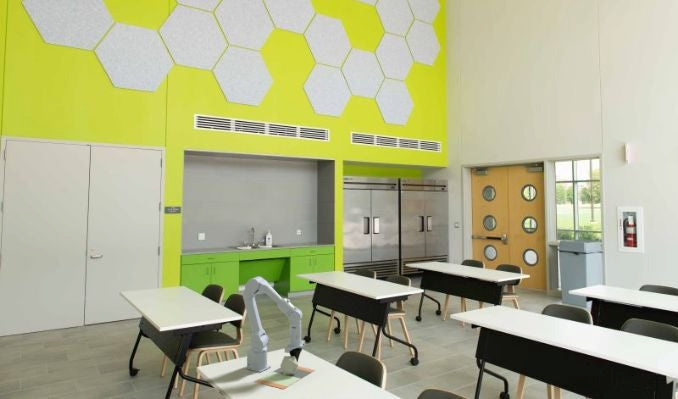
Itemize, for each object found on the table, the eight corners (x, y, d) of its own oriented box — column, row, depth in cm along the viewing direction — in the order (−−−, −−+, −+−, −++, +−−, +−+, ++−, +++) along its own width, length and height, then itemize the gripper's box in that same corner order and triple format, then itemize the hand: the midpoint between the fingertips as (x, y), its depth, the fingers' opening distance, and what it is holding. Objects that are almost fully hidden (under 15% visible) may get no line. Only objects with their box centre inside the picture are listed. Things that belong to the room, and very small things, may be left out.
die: (291, 380, 188) (302, 360, 191) (275, 369, 189) (287, 350, 193) (291, 379, 195) (302, 361, 199) (276, 369, 197) (287, 351, 200)
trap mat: (254, 381, 185) (254, 381, 185) (287, 364, 206) (287, 363, 206) (283, 389, 177) (283, 388, 177) (314, 370, 199) (314, 370, 199)
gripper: (293, 340, 190) (293, 370, 190) (310, 332, 203) (309, 360, 203) (281, 338, 194) (280, 367, 193) (298, 330, 206) (298, 357, 206)
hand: (294, 363), depth 198 cm, fingers closed
